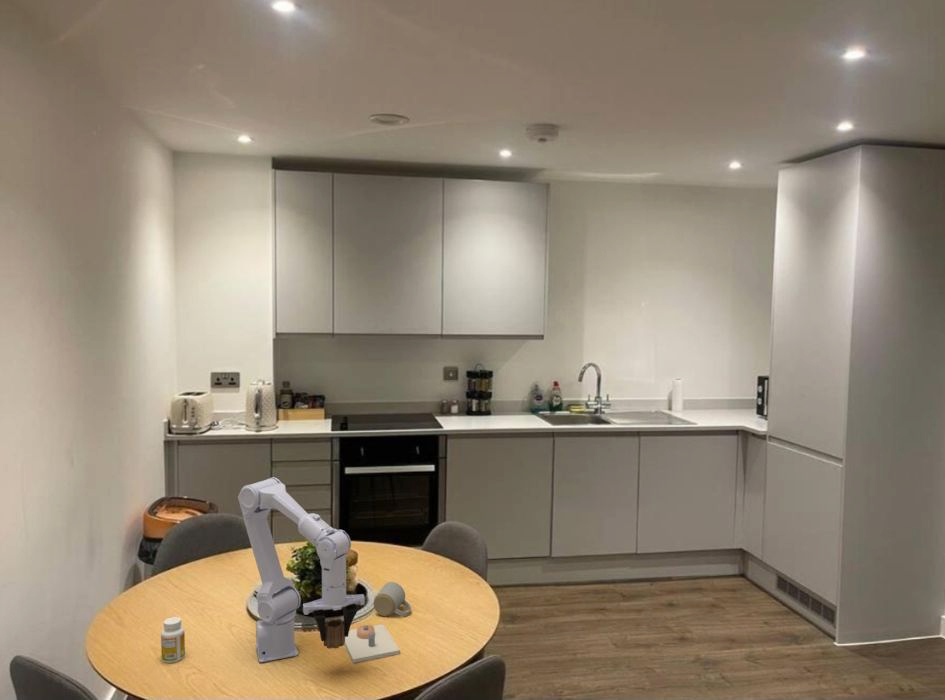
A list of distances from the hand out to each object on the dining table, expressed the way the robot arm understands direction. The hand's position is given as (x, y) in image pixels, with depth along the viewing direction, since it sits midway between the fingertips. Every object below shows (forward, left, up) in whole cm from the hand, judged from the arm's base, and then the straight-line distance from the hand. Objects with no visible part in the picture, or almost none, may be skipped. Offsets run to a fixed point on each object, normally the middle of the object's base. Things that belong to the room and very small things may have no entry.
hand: (334, 637), depth 166 cm
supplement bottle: (-36, +21, -9) cm, 43 cm away
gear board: (+11, +9, -8) cm, 17 cm away
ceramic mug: (+22, +25, -9) cm, 35 cm away
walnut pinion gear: (0, 0, -2) cm, 2 cm away
